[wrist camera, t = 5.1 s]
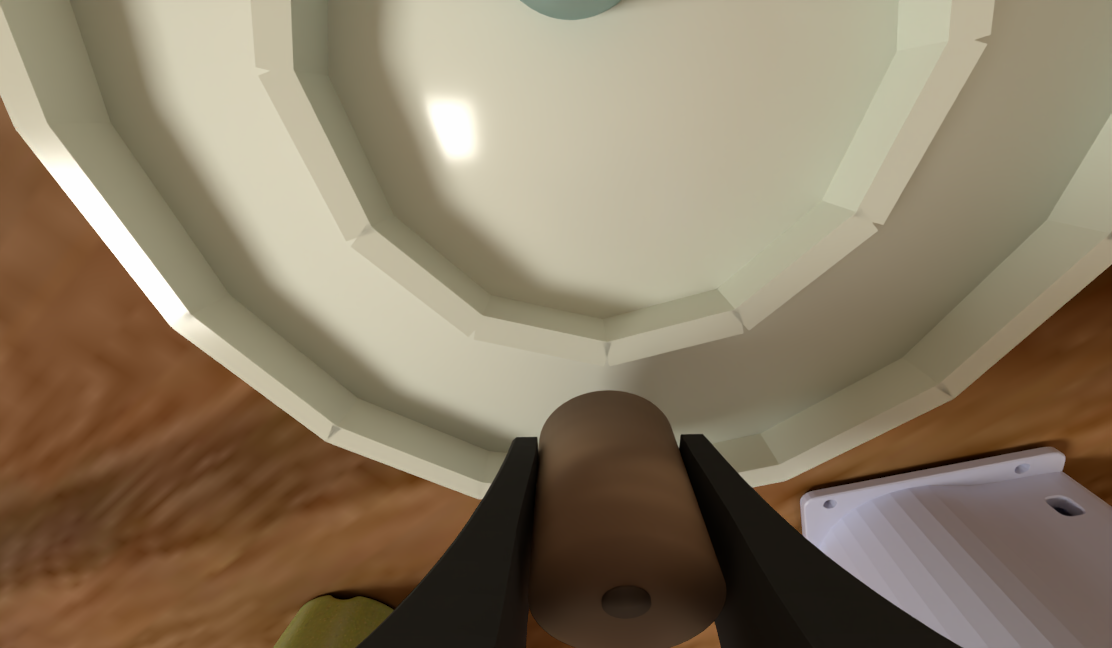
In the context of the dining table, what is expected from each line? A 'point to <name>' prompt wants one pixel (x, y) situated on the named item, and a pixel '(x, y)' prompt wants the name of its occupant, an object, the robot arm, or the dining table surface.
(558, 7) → the teal bead
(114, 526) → the dining table surface
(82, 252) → the dining table surface
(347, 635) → the plant pot
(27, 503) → the dining table surface
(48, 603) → the dining table surface
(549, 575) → the walnut bead
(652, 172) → the groove tray
